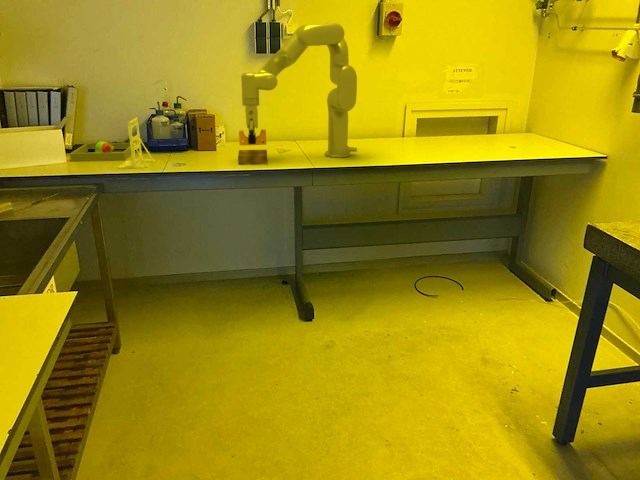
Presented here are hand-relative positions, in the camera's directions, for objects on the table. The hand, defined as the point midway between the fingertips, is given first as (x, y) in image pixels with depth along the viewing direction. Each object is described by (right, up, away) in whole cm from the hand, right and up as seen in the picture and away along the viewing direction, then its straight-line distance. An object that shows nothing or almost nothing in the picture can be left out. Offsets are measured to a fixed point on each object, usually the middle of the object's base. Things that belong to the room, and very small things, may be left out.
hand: (252, 142), depth 236 cm
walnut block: (0, -8, +3) cm, 9 cm away
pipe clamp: (0, -1, 0) cm, 1 cm away
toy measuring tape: (-75, -5, +10) cm, 76 cm away
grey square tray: (-73, -4, +12) cm, 74 cm away
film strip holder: (-51, -11, -5) cm, 53 cm away
